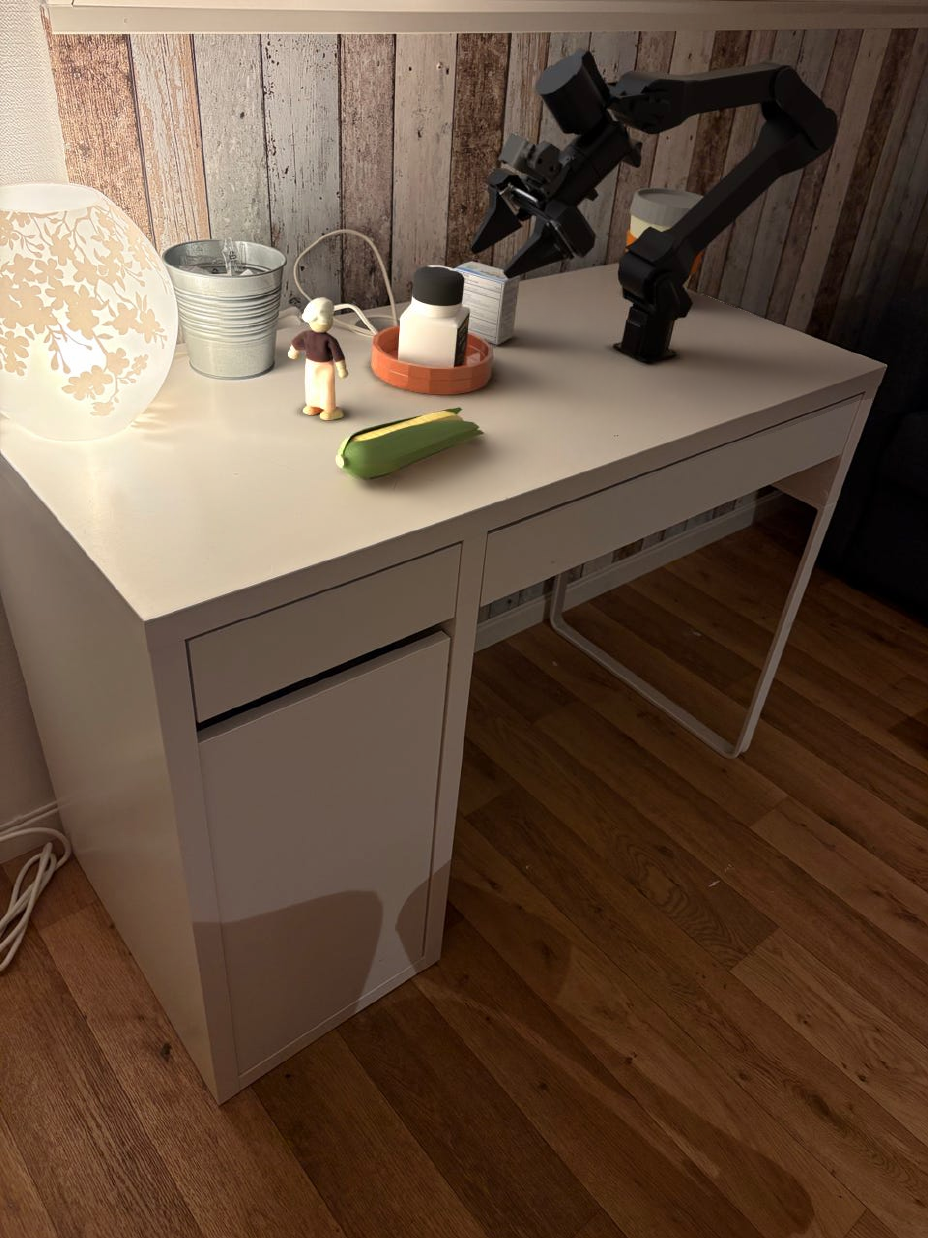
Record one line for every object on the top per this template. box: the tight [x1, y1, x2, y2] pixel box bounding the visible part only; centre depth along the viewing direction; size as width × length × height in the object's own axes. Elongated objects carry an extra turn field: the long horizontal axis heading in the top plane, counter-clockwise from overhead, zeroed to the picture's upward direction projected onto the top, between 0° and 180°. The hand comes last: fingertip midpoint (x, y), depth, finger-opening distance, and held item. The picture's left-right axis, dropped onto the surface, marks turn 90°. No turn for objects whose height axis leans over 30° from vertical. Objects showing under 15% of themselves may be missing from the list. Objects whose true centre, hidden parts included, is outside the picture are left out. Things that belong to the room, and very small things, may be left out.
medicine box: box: [454, 261, 521, 346], centre depth 130 cm, size 8×4×9 cm, turn 58°
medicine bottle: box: [398, 264, 470, 367], centre depth 117 cm, size 7×7×12 cm
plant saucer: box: [370, 324, 494, 395], centre depth 120 cm, size 15×15×3 cm
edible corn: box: [335, 406, 485, 480], centre depth 99 cm, size 5×20×5 cm, turn 135°
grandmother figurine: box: [287, 296, 349, 421], centre depth 104 cm, size 8×4×13 cm, turn 71°
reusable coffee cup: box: [625, 187, 705, 291], centre depth 149 cm, size 13×13×15 cm
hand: (488, 263), depth 115 cm, fingers open, 9 cm apart
